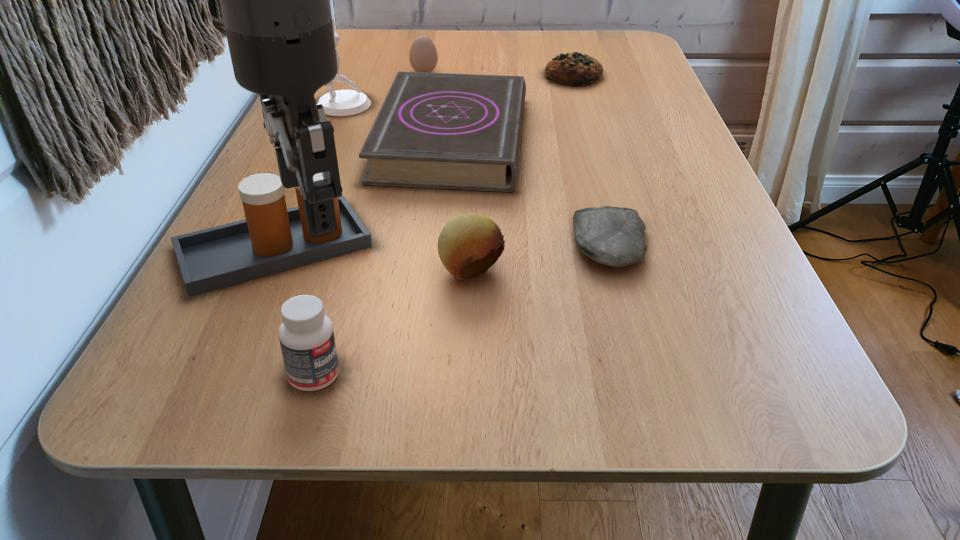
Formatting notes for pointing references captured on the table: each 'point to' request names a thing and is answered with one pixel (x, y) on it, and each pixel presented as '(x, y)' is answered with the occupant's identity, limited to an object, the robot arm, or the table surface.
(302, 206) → the amber bottle far
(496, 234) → the fruit
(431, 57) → the egg
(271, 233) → the amber bottle middle
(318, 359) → the pill bottle
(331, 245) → the tray
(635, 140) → the table surface
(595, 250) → the stone
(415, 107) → the book
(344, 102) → the figurine
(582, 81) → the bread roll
